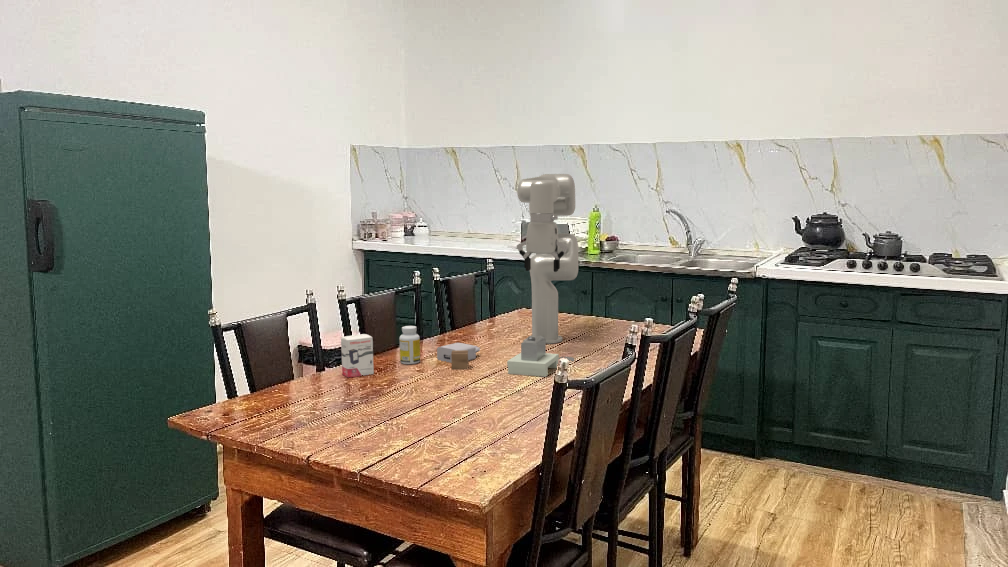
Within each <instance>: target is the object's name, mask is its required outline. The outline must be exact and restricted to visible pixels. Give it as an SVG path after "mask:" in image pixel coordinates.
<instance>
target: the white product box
mask: <svg viewBox="0 0 1008 567" xmlns="http://www.w3.org/2000/svg"><path fill="white" fill-rule="evenodd" d="M340 345H341V347H340V349H341V350H340V352H341V368H342V369H341V371H342V373H341V374H342V376H344V377H346V378H348V379H349V377H350V378H355V377H360V376H361V377H362V375H363V376H367V375H368V376H369V374H370V375H374V374H375V372H374V349H373V348H374V341H373V336H371V335H369V334H367V333H362V334H354V335H346V336H342V337H340Z"/></svg>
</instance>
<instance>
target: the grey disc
mask: <svg viewBox="0 0 1008 567" xmlns="http://www.w3.org/2000/svg"><path fill="white" fill-rule="evenodd" d="M563 357H565V358H567V359H568V360H569V361H570V360H571V361H573V362H575V358H574V357H573V356H560V357H559V359H560V358H563ZM559 359H558V360H559Z"/></svg>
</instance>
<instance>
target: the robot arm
mask: <svg viewBox="0 0 1008 567" xmlns="http://www.w3.org/2000/svg"><path fill="white" fill-rule="evenodd" d="M516 188H517V190H516V192H517V193H516V194H517V197H518V200H519V201H520V203H523V204H525V203H528V209H529V210H528V211H529V217H530V222H529V223H528V225H527V230H526V238H525V239H526V240H524V241H522V242H520V243H518V244H516V249H517V251H518V253H519V255H521V257H522V259H524V261H523V262H524V264H523V265H524V268H525V271H526V272H529V275H530V282H531V335H533V336H544V338H546V344H547V345H548V344H557V343H561V342H562V341H563V336H561V335H559V291H558V290H557V288H556V286H555V285H554V284H553V282H552V281H574V280H575V279H576V278H577V276H578V273H579V243H578V239H577V236H576V235H574V234H572V233H559V228H558V226H557V223H556V222H555V221H557V220H558V217H564V216H566V217H568V216H572V215H573V214H574V212H575V210H576V185H575V180H574V178H573V176H572V175H570V174H568V173H543V174H541V175H539V176H535V177H528V178H523V179H521V180H519V182H518V184H517V187H516ZM524 246H525V250H524V249H523V247H524ZM532 254H534V255H533V256H531V255H532ZM531 335H529V336H528V337H530V336H531Z"/></svg>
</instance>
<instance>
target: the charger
mask: <svg viewBox="0 0 1008 567" xmlns="http://www.w3.org/2000/svg"><path fill="white" fill-rule="evenodd" d="M457 350H468V362H469V361H473V360H475V359H476V357H477V353H479V352H480V350H481V347H478V345H473V344H468V343H463V342H454V343H450V344H446V345H441V346H438V347H436V358H437V360H438V361H440V360H441V362H445V361H446V363H451V353H452V351H457ZM451 364H452V363H451Z"/></svg>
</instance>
